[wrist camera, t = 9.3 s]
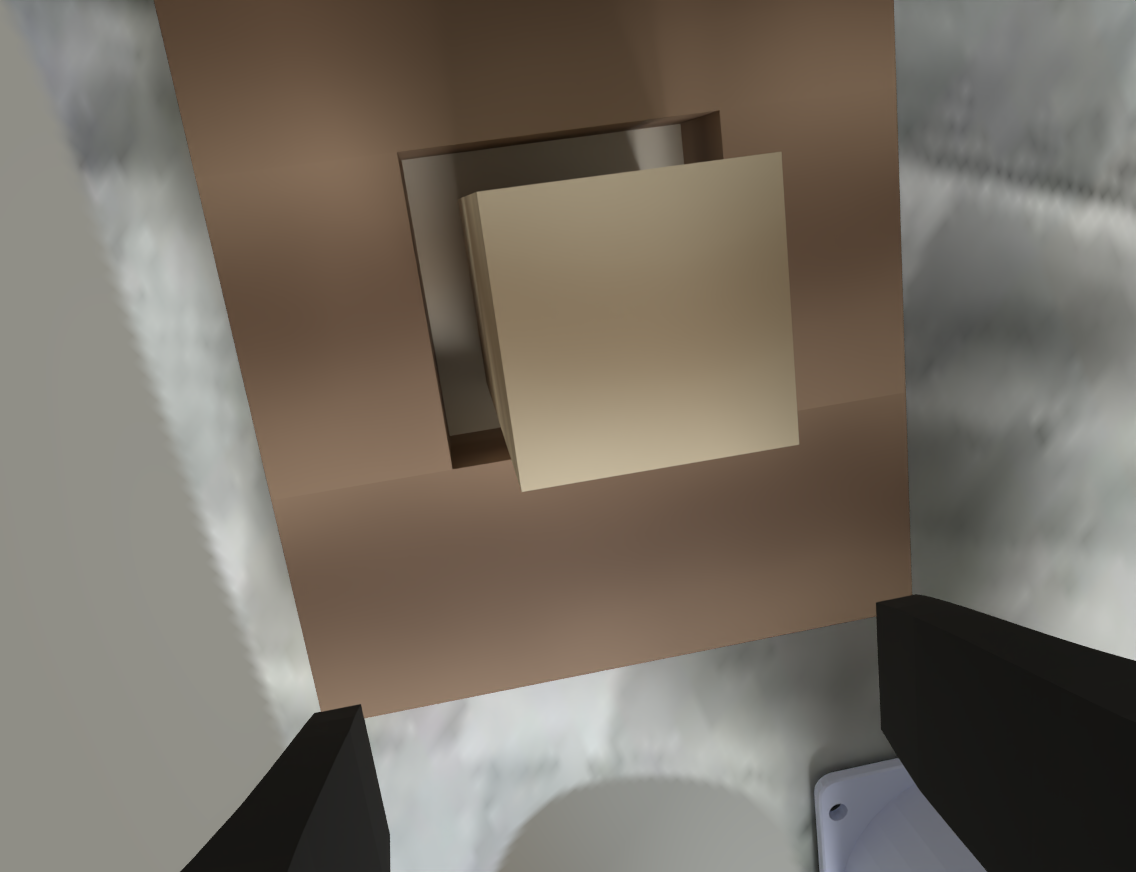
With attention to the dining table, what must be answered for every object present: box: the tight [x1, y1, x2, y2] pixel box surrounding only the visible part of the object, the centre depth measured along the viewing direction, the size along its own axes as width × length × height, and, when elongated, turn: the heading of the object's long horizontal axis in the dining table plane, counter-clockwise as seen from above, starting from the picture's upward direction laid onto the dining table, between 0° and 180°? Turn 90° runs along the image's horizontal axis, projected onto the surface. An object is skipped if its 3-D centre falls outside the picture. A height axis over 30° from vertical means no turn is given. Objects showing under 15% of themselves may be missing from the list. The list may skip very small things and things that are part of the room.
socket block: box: [154, 0, 912, 718], centre depth 18 cm, size 16×13×3 cm
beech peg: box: [458, 152, 799, 492], centre depth 16 cm, size 4×4×8 cm
